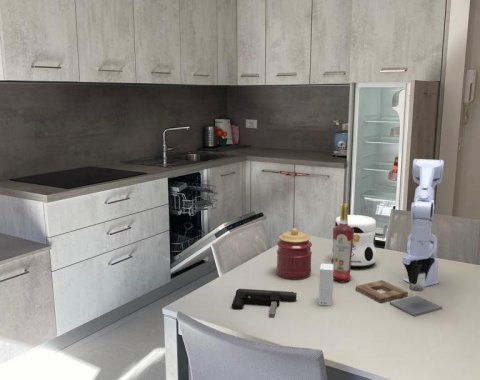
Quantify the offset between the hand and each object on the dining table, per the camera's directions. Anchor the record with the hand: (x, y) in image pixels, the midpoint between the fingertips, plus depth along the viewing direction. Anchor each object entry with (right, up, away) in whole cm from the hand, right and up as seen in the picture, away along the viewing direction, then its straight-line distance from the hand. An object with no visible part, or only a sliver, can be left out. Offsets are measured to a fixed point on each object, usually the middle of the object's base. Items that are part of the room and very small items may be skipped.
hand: (417, 281), depth 151 cm
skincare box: (-28, -8, +5) cm, 29 cm away
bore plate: (-8, -6, +12) cm, 16 cm away
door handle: (-48, -9, +2) cm, 49 cm away
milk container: (-10, -1, +42) cm, 43 cm away
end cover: (0, -2, +1) cm, 2 cm away
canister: (-35, -3, +30) cm, 46 cm away
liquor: (-19, -4, +24) cm, 31 cm away
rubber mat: (0, -8, +2) cm, 8 cm away
